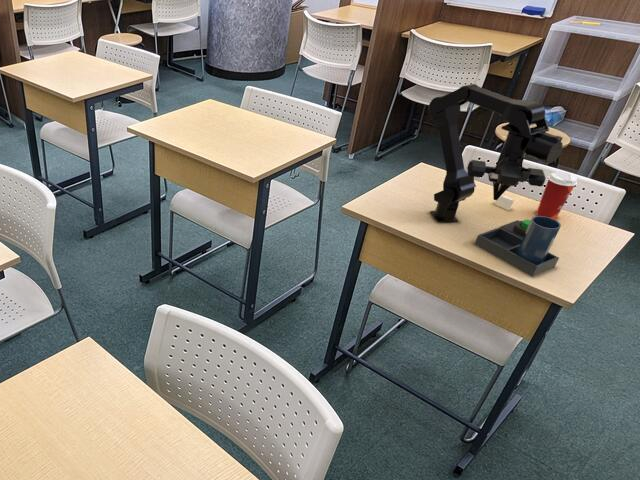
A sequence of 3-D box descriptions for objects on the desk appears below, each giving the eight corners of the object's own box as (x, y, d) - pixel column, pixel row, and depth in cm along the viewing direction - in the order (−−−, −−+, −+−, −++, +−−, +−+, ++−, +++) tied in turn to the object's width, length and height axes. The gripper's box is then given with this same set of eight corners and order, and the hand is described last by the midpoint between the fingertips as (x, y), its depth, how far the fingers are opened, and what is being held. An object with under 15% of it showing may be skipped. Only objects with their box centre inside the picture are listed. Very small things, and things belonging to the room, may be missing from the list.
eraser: (496, 203, 183) (500, 193, 181) (510, 209, 179) (514, 199, 177) (494, 204, 182) (497, 194, 180) (508, 210, 179) (512, 200, 177)
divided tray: (474, 244, 163) (478, 234, 161) (495, 236, 166) (499, 226, 164) (532, 277, 150) (537, 267, 148) (554, 267, 153) (559, 257, 151)
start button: (517, 226, 164) (520, 221, 163) (525, 223, 166) (528, 218, 164) (529, 231, 162) (531, 226, 161) (537, 228, 163) (539, 223, 162)
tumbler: (511, 253, 158) (529, 214, 150) (538, 257, 156) (557, 217, 149) (516, 266, 153) (534, 226, 145) (544, 270, 151) (563, 230, 143)
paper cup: (563, 222, 172) (583, 182, 164) (537, 220, 173) (555, 180, 165) (554, 210, 178) (572, 171, 170) (528, 208, 180) (545, 169, 171)
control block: (497, 232, 168) (502, 221, 166) (515, 226, 171) (519, 214, 169) (531, 249, 160) (536, 238, 158) (548, 243, 163) (554, 231, 161)
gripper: (477, 155, 147) (459, 206, 156) (558, 166, 140) (534, 218, 150) (476, 140, 155) (459, 189, 164) (552, 150, 149) (530, 200, 158)
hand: (494, 199), depth 159 cm, fingers closed
